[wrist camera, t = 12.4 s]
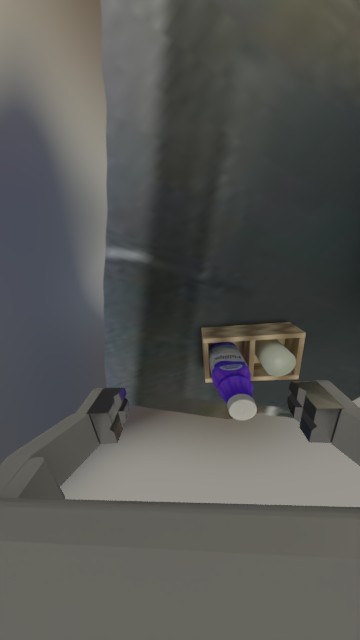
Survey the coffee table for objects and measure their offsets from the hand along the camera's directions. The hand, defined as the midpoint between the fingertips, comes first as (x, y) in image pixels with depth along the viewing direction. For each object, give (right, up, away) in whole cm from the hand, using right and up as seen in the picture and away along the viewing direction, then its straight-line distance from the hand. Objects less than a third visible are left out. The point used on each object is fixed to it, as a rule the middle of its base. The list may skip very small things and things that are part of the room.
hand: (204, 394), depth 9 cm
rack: (+14, -3, +33) cm, 36 cm away
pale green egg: (+19, -3, +32) cm, 37 cm away
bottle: (+9, -4, +33) cm, 34 cm away
